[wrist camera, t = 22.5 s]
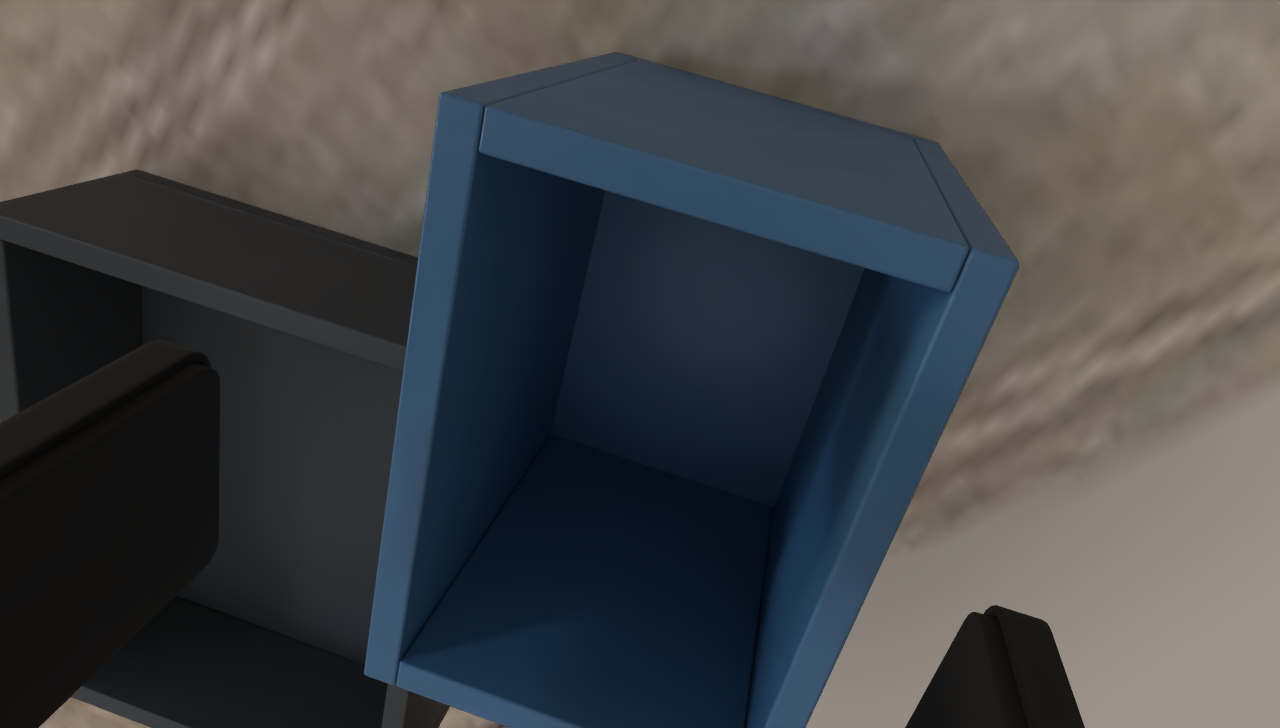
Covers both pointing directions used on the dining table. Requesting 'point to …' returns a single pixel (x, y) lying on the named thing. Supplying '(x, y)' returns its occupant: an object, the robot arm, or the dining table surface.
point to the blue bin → (664, 395)
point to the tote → (234, 434)
